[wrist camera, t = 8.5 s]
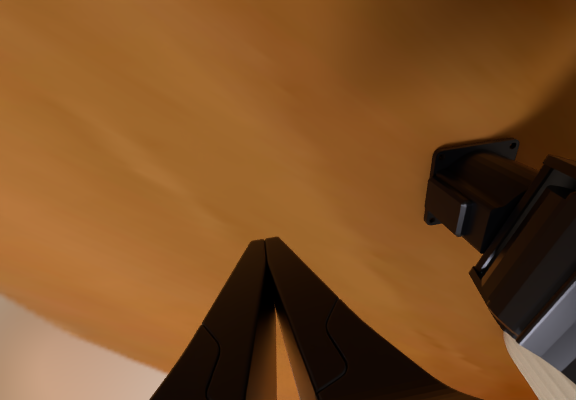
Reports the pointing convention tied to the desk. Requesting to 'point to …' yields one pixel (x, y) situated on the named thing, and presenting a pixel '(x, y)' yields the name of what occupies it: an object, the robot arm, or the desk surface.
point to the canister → (540, 373)
